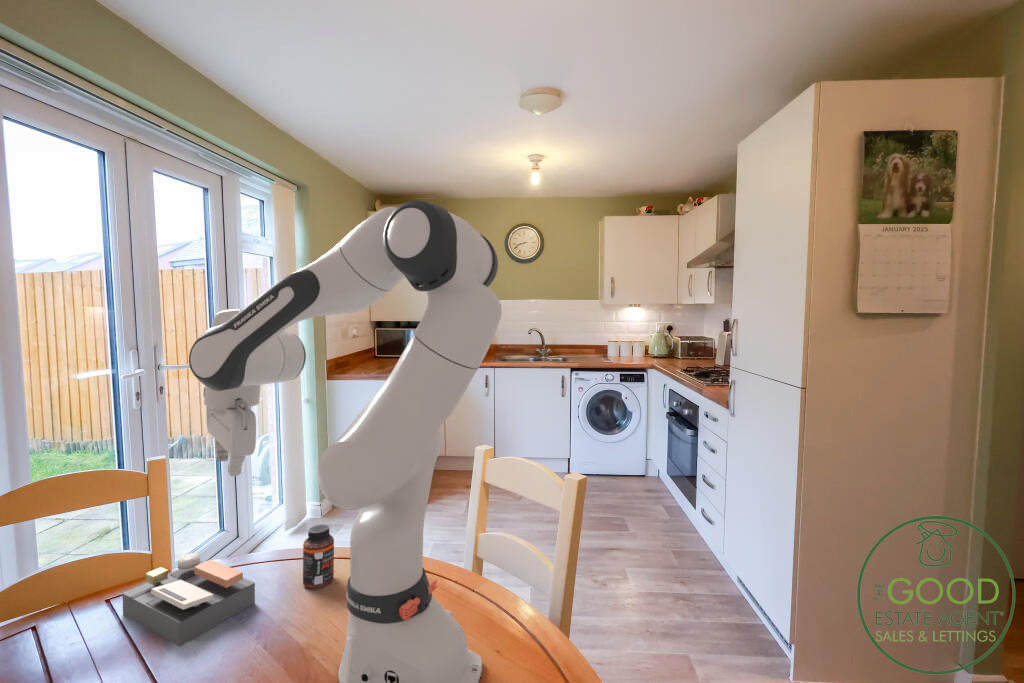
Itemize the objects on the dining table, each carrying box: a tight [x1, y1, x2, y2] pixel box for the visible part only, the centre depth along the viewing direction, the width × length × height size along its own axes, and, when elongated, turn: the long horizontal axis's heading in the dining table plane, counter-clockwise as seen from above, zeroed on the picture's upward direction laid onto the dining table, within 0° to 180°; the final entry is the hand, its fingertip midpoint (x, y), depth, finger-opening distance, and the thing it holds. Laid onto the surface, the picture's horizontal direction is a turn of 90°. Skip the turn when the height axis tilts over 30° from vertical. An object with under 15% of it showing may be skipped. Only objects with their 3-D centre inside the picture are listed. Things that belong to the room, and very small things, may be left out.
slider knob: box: [145, 566, 169, 586], centre depth 83 cm, size 2×2×2 cm
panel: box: [122, 560, 256, 647], centre depth 82 cm, size 18×13×4 cm
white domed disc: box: [177, 552, 201, 570], centre depth 88 cm, size 4×4×1 cm
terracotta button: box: [194, 559, 244, 588], centre depth 84 cm, size 10×3×1 cm, turn 64°
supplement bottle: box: [302, 524, 335, 590], centre depth 92 cm, size 6×6×11 cm
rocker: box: [151, 580, 213, 610], centre depth 78 cm, size 10×5×1 cm, turn 64°
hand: (227, 467), depth 83 cm, fingers open, 8 cm apart
